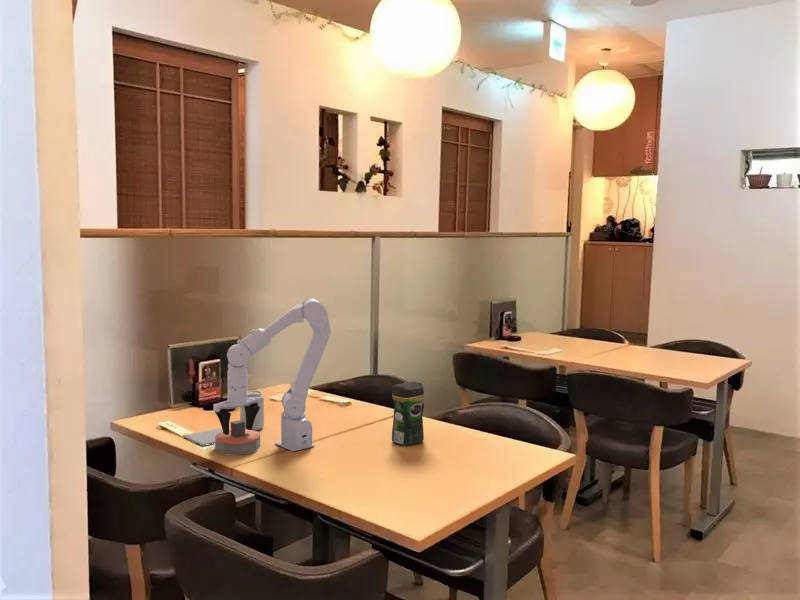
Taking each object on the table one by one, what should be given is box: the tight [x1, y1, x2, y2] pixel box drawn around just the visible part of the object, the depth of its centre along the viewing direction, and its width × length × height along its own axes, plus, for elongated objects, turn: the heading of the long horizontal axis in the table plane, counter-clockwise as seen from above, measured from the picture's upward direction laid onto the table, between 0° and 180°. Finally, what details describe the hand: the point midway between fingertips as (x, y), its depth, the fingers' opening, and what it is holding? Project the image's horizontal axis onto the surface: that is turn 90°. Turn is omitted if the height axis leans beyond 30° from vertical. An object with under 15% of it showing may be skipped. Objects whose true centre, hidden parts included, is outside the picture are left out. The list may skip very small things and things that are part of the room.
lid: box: [215, 420, 261, 445], centre depth 203 cm, size 13×13×5 cm
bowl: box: [214, 438, 261, 456], centre depth 204 cm, size 12×12×3 cm
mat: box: [183, 427, 223, 446], centre depth 213 cm, size 12×12×1 cm
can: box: [239, 390, 265, 432], centre depth 224 cm, size 8×8×12 cm
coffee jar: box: [391, 380, 425, 447], centre depth 212 cm, size 10×8×19 cm
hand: (237, 431), depth 203 cm, fingers open, 7 cm apart
